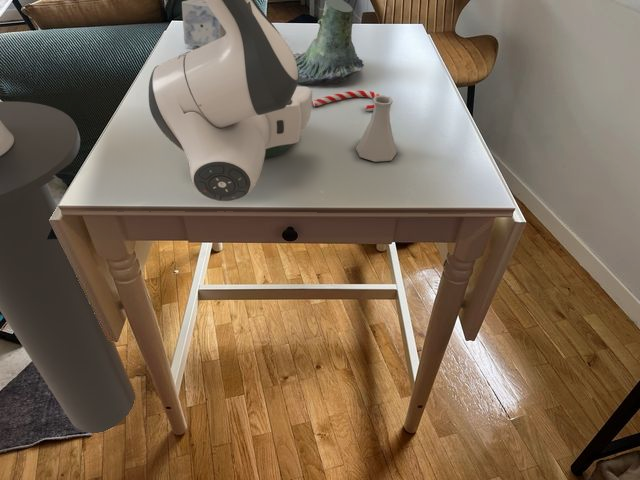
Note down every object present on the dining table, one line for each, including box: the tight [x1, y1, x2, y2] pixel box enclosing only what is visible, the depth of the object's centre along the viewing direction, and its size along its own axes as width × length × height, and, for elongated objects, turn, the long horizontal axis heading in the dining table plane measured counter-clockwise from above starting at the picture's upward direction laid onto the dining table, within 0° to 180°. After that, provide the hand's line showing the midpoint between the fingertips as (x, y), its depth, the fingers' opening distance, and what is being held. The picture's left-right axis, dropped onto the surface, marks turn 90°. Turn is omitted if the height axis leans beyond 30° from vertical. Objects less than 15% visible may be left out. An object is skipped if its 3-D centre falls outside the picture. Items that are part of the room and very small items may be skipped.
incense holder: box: [181, 0, 226, 47], centre depth 116 cm, size 10×8×10 cm
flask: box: [355, 94, 397, 163], centre depth 83 cm, size 7×7×10 cm
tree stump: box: [293, 0, 365, 86], centre depth 107 cm, size 18×20×18 cm
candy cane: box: [312, 90, 381, 112], centre depth 99 cm, size 8×1×15 cm
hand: (254, 80), depth 82 cm, fingers closed on bottle, 6 cm apart
